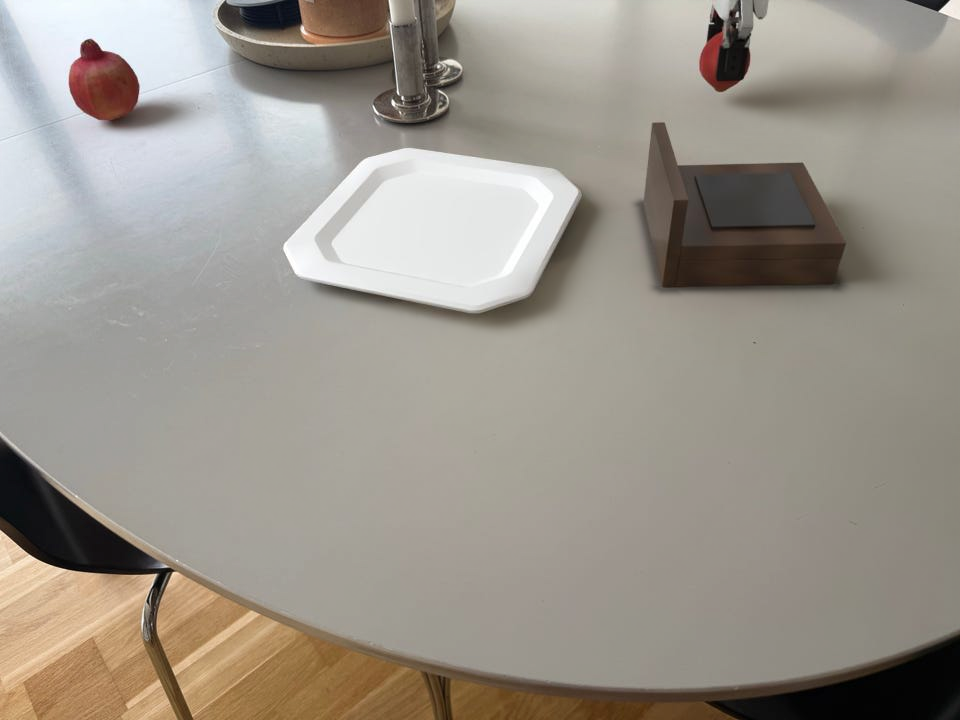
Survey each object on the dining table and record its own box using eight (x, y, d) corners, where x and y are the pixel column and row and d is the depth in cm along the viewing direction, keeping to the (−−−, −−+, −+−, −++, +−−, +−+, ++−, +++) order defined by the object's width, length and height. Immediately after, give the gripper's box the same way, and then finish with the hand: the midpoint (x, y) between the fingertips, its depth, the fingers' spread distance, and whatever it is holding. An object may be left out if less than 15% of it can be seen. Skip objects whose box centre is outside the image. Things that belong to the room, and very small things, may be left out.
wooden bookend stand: (793, 200, 83) (814, 118, 77) (833, 284, 73) (861, 196, 67) (643, 204, 84) (652, 122, 78) (662, 287, 74) (673, 200, 67)
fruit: (150, 125, 102) (123, 45, 95) (82, 138, 100) (50, 57, 93) (147, 99, 108) (121, 22, 101) (82, 111, 106) (52, 33, 99)
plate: (517, 337, 69) (517, 317, 68) (265, 285, 76) (260, 266, 75) (591, 191, 86) (592, 172, 85) (379, 159, 93) (377, 141, 92)
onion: (708, 78, 102) (716, 12, 97) (752, 86, 99) (763, 19, 94) (688, 95, 99) (695, 28, 93) (733, 105, 96) (744, 36, 91)
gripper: (806, -82, 78) (773, 98, 90) (764, -123, 91) (740, 39, 103) (727, -78, 79) (704, 101, 91) (696, -118, 92) (680, 43, 104)
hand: (723, 67), depth 97 cm, fingers closed on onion, 5 cm apart
